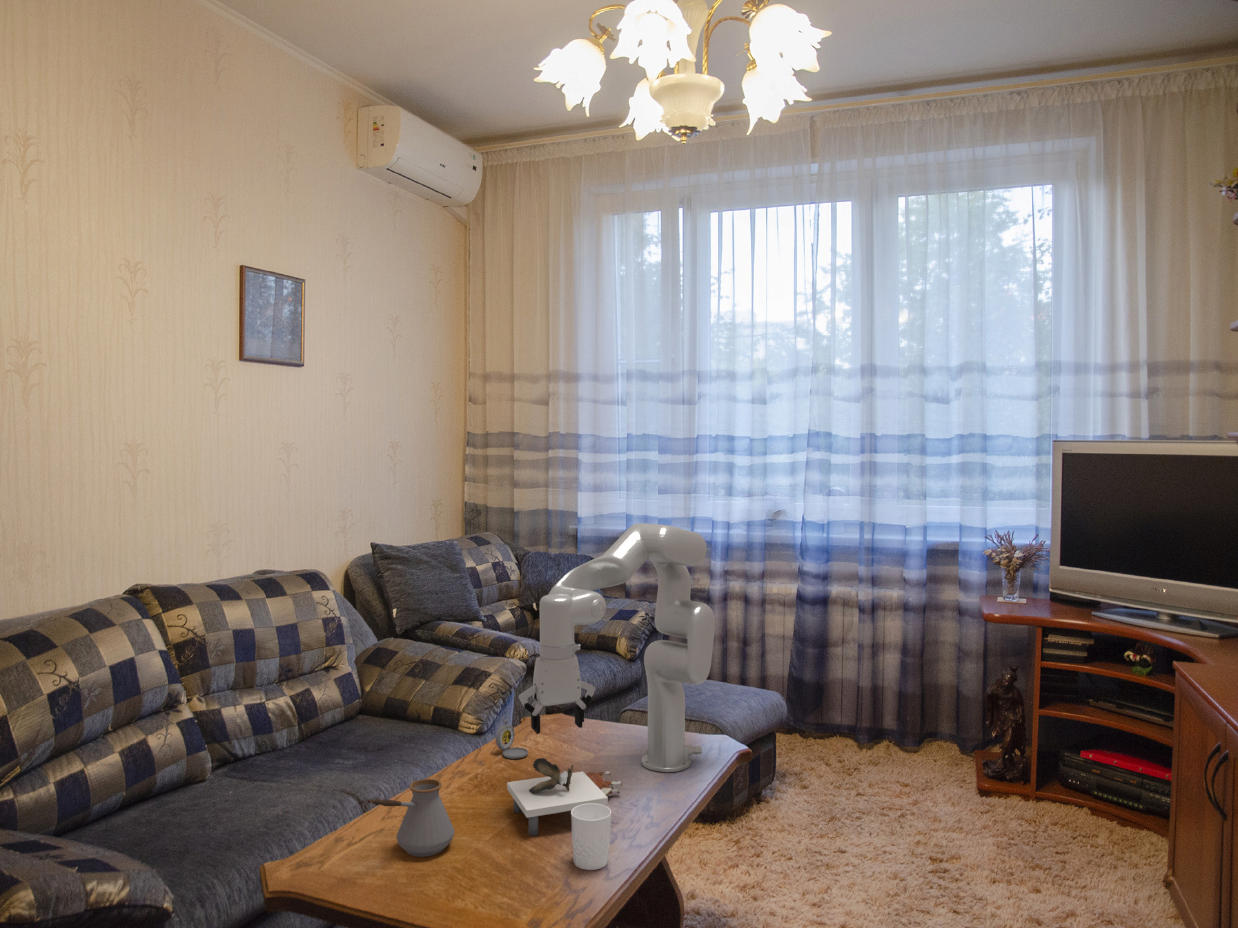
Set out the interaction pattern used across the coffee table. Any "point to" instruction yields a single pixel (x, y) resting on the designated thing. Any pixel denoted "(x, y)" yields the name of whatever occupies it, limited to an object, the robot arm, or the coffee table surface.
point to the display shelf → (553, 797)
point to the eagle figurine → (553, 772)
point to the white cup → (591, 835)
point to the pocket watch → (509, 742)
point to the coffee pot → (422, 819)
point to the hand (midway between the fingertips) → (557, 728)
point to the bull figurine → (603, 782)
